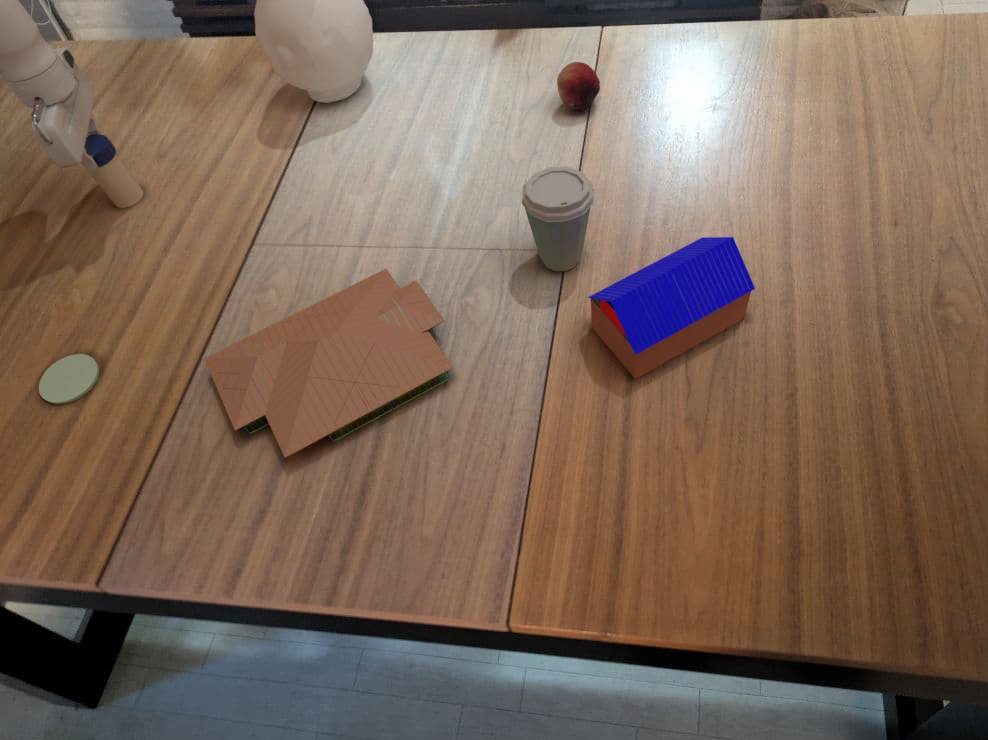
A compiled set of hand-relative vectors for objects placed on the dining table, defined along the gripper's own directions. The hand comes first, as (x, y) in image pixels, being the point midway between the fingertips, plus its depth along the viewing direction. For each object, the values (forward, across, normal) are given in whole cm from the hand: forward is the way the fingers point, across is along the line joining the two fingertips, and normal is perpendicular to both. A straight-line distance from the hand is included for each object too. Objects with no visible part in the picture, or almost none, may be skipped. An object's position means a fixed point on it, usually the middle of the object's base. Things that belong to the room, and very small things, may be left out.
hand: (96, 153), depth 123 cm
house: (+10, -56, -86) cm, 103 cm away
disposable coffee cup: (+10, -38, -74) cm, 84 cm away
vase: (+10, +20, -40) cm, 46 cm away
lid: (-1, 0, 0) cm, 1 cm away
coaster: (+10, -41, +5) cm, 42 cm away
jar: (+10, 0, 0) cm, 10 cm away
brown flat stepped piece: (+10, -51, -37) cm, 64 cm away
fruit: (+10, -2, -86) cm, 86 cm away
